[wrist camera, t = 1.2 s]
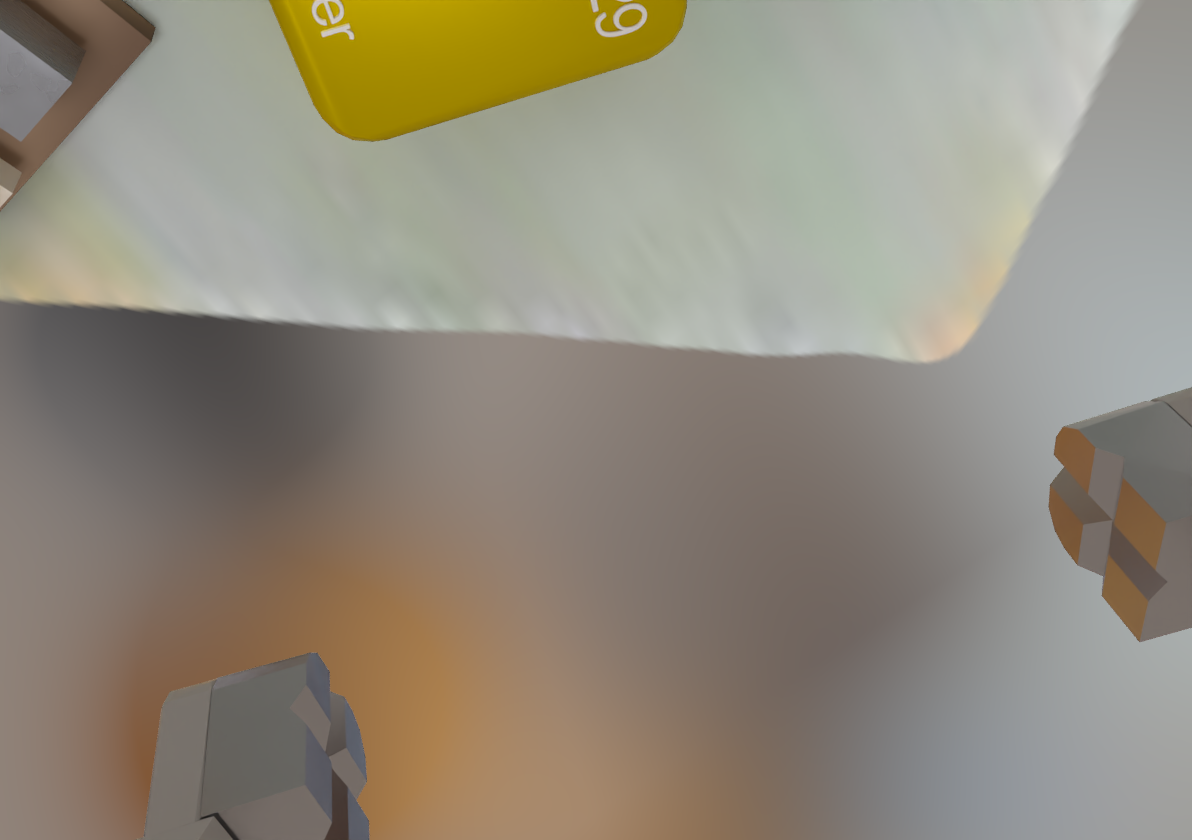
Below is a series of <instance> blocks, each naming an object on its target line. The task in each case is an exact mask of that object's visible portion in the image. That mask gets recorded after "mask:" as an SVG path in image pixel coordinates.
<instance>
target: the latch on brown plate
mask: <svg viewBox="0 0 1192 840" xmlns="http://www.w3.org/2000/svg"><path fill="white" fill-rule="evenodd" d="M21 1H22V2H23V3H24V4H26V5H27V6H28V7H30V8H31V9H32V10H34V11H35V12H36V13H37V14H39V15H40V16H41V17H43V18H44V19H45V20H47V21H48V22H49V23H50V24H52V25H53V26H54V27H56V28H57V29H58V30H59V31H61V32H62V33H63V34H65V35H66V36H67V37H69V38H70V39H71V40H72V41H74V42H75V43H76V44H78V45H79V46H80V47H82V48H83V49H84V50H85V51H86V52H85V55H84V57H83V59H82V62H81V64H80V66H79V69H78V71H77V73H76V76H75V78H74V80H73V83H72V84H71V85H70V86H69V88H68V89H67V90H66V91H65V92H64V93H63V94H62V96H61V97H60V98H59V99H58V100H57V101H56V102H55V104H54V105H53V106H52V107H51V108H50V109H49V110H48V112H47V113H46V114H45V115H44V116H43V117H42V118H41V120H40V121H39V122H38V123H37V124H36V125H35V126H34V128H33V129H32V130H31V131H30V132H29V133H28V134H27V136H26V137H25V138H24V139H23V140H22V141H21V142H20V141H19V140H17V139H16V138H15V137H13V136H12V135H10V134H9V133H7V132H6V131H4V130H3V129H1V128H0V158H1V159H2V160H4V161H5V162H7V163H8V164H10V165H11V166H13V167H14V168H16V169H17V170H19V171H20V172H22V174H21V176H20V178H19V180H18V183H17V185H16V187H15V189H14V191H13V194H12V195H11V196H10V197H9V198H8V199H7V200H6V201H5V203H4V204H3V205H2V206H1V207H0V211H1V210H2V209H3V208H4V206H5V205H6V204H7V203H8V202H9V201H10V200H11V199H12V197H13V196H14V195H15V194H16V193H17V192H18V191H19V190H20V188H21V187H22V186H23V185H24V184H25V183H26V182H27V181H28V179H29V178H30V177H31V176H32V175H33V174H34V173H35V172H36V170H37V169H38V168H39V167H40V166H41V165H42V164H43V163H44V161H45V160H46V159H47V158H48V157H49V156H50V155H51V154H52V153H53V151H54V150H55V149H56V148H57V147H58V146H59V145H60V144H61V142H62V141H63V140H64V139H65V138H66V137H67V136H68V135H69V133H70V132H71V131H72V130H73V129H74V128H75V127H76V126H77V124H78V123H79V122H80V121H81V120H82V119H83V118H84V117H85V115H86V114H87V113H88V112H89V111H90V110H91V109H92V108H93V106H94V105H95V104H96V103H97V102H98V101H99V100H100V99H101V97H102V96H103V95H104V94H105V93H106V92H107V91H108V90H109V88H110V87H111V86H112V85H113V84H114V83H115V82H116V81H117V79H118V78H119V77H120V76H121V75H122V74H123V73H124V72H125V71H126V69H127V68H128V67H129V66H130V65H131V64H132V63H133V62H134V60H135V59H136V58H137V57H138V56H139V55H140V54H141V53H142V51H143V50H144V49H145V48H146V47H147V46H148V45H149V44H150V42H151V41H152V37H153V34H154V31H155V27H154V26H153V25H151V24H150V23H149V22H148V21H147V20H145V19H144V18H143V17H142V16H140V15H139V14H138V13H137V12H136V11H134V10H133V9H132V8H131V7H130V6H128V5H127V4H126V3H125V2H123V1H122V0H21Z"/></svg>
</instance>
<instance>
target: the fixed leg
mask: <svg viewBox="0 0 1192 840" xmlns="http://www.w3.org/2000/svg"><path fill="white" fill-rule="evenodd" d="M85 52H86V51H85V50H84V49H83V48H82V47H80V46H79V45H78V44H76V43H75V42H74V41H72V40H71V39H70V38H69V37H67V36H66V35H65V34H63V33H62V32H61V31H59V30H58V29H57V28H56V27H54V26H53V25H52V24H50V23H49V22H48V21H47V20H45V19H44V18H43V17H41V16H40V15H39V14H37V13H36V12H35V11H34V10H32V9H31V8H30V7H28V6H27V5H26V4H24V3H23V2H22V1H21V0H0V128H1V129H3V130H4V131H6V132H7V133H9V134H10V135H12V136H13V137H15V138H16V139H17V140H19V141H20V142H21V141H22V140H23V139H24V138H25V137H26V136H27V134H28V133H29V132H30V131H31V130H32V129H33V128H34V126H35V125H36V124H37V123H38V122H39V121H40V120H41V118H42V117H43V116H44V115H45V114H46V113H47V112H48V110H49V109H50V108H51V107H52V106H53V105H54V104H55V102H56V101H57V100H58V99H59V98H60V97H61V96H62V94H63V93H64V92H65V91H66V90H67V89H68V88H69V86H70V85H71V84H72V83H73V80H74V78H75V76H76V73H77V71H78V69H79V66H80V64H81V62H82V59H83V57H84V55H85Z"/></svg>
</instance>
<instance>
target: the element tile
mask: <svg viewBox="0 0 1192 840" xmlns="http://www.w3.org/2000/svg"><path fill="white" fill-rule="evenodd" d="M269 2H270V4H271V7H272V9H273V11H274V14H275V16H276V18H277V21H278V23H279V25H280V28H281V30H282V32H283V35H284V37H285V39H286V42H287V44H288V46H289V49H290V51H291V53H292V56H293V58H294V60H295V63H296V65H297V67H298V70H299V72H300V74H301V77H302V79H303V81H304V84H305V86H306V88H307V91H308V93H309V95H310V98H311V100H312V102H313V105H314V106H315V108H316V109H317V111H318V112H319V114H320V116H321V117H322V119H323V120H324V121H325V122H326V123H327V124H329V125H330V126H331V127H332V128H333V129H334V130H335V131H336V132H337V133H339V134H341V135H343V136H345V137H348V138H350V139H352V140H359V141H372V142H373V141H380V140H387V139H390V138H394V137H397V136H400V135H403V134H407V133H410V132H413V131H416V130H420V129H423V128H426V127H429V126H433V125H436V124H439V123H442V122H446V121H449V120H452V119H455V118H459V117H462V116H465V115H468V114H472V113H475V112H478V111H481V110H485V109H488V108H491V107H494V106H498V105H501V104H504V103H507V102H511V101H514V100H517V99H520V98H524V97H527V96H530V95H533V94H537V93H540V92H543V91H547V90H550V89H553V88H556V87H560V86H563V85H566V84H569V83H573V82H576V81H579V80H582V79H586V78H589V77H592V76H595V75H599V74H602V73H605V72H608V71H612V70H615V69H618V68H621V67H625V66H628V65H631V64H634V63H638V62H641V61H644V60H647V59H649V58H651V57H653V56H655V55H657V54H658V53H659V52H661V51H662V50H663V49H664V48H666V47H667V46H668V45H669V44H671V43H672V42H673V40H674V39H675V37H676V36H677V34H678V33H679V31H680V29H681V28H682V26H683V21H684V17H685V12H686V8H687V0H269Z"/></svg>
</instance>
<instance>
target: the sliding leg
mask: <svg viewBox="0 0 1192 840" xmlns="http://www.w3.org/2000/svg"><path fill="white" fill-rule="evenodd" d="M21 174H22V172H20V171H19V170H17V169H16V168H14V167H13V166H11V165H10V164H8V163H7V162H5V161H4V160H2V159H1V158H0V207H1V206H2V205H3V204H4V203H5V201H6V200H7V199H8V198H9V197H10V196H11V195H12V194H13V191H14V189H15V187H16V185H17V183H18V180H19V178H20V176H21Z"/></svg>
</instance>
